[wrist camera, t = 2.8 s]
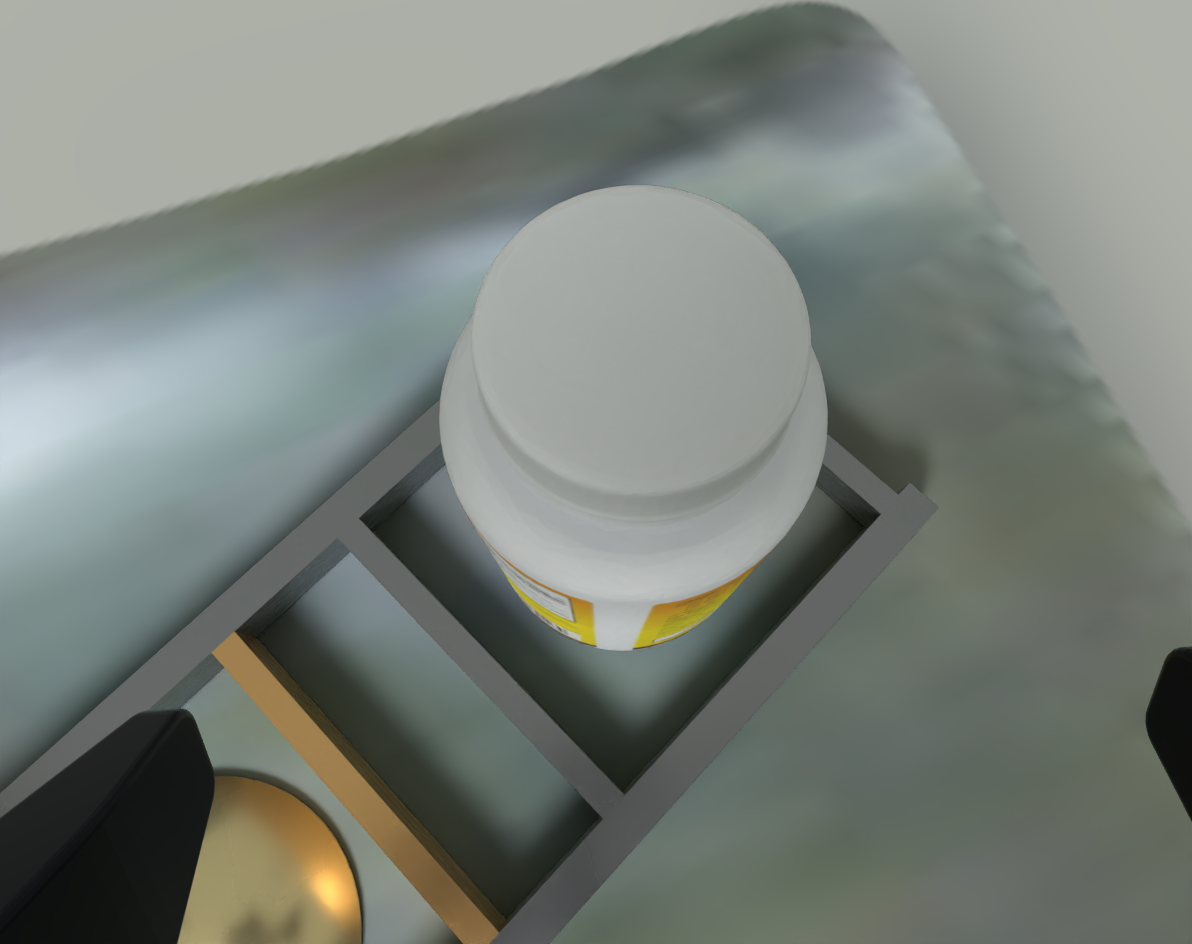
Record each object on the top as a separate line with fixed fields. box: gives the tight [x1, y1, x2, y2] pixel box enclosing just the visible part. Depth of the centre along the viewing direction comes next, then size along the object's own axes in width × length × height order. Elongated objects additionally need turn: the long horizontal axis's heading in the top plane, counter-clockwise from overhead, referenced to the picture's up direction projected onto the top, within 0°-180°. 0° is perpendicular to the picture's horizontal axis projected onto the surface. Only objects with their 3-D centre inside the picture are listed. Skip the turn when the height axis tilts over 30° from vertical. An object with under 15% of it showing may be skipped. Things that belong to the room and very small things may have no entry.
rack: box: [0, 399, 939, 944], centre depth 18 cm, size 22×10×1 cm, turn 135°
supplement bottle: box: [439, 185, 828, 651], centre depth 14 cm, size 6×6×10 cm
